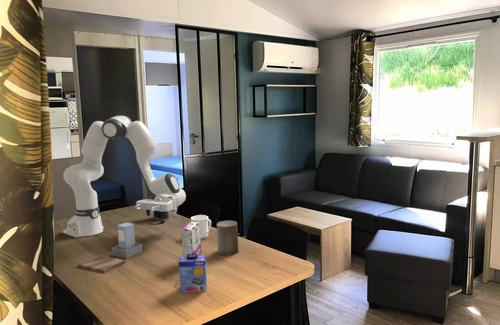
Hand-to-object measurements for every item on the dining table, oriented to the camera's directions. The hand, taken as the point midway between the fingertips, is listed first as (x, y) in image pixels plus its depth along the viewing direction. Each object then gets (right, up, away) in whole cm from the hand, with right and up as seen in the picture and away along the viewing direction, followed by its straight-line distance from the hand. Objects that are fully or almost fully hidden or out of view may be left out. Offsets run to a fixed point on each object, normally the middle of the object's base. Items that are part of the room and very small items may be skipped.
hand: (143, 208), depth 200 cm
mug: (+27, -16, +14) cm, 35 cm away
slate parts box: (-5, -20, -8) cm, 22 cm away
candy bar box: (+27, -21, -20) cm, 39 cm away
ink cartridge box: (+31, -25, -47) cm, 62 cm away
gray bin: (-5, -20, -8) cm, 22 cm away
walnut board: (-13, -22, -21) cm, 33 cm away
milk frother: (-2, -12, +48) cm, 49 cm away
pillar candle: (+42, -19, -9) cm, 47 cm away
